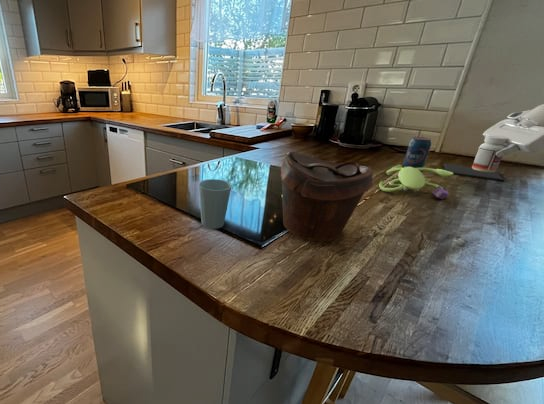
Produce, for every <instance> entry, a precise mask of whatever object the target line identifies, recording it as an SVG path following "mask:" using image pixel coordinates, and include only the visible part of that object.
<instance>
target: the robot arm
mask: <svg viewBox="0 0 544 404" xmlns="http://www.w3.org/2000/svg"><path fill="white" fill-rule="evenodd" d="M482 136H483V138H484V139H485V137H486V136H502V137H505V138H507V140H506V143H505V144H503V145H504V146H505V147H506V148H504V149H501V150H500V149H499V150H497V151H495V152H494V155H495V156H497V157H502V158H503V156H505V155H508V154H512V153H515V152H517V151H520V152H524V153H528V154H532V153H536V152H538V151H540V150H542V149H543V148H544V103H542V104H539V105H538V106H536V107H534V108H532V109H528V110H524V111H517V112H512V113H510V114H508V115H506V118H505V119H502V120H499V122H497V123H495V124H494V125H491V126H490V127H489V128H487V129H486V130H485V131H484V132H483V133H482ZM484 143H486V142H484ZM477 150H479V147H478V149H477Z"/></svg>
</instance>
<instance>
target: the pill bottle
mask: <svg viewBox="0 0 544 404" xmlns="http://www.w3.org/2000/svg"><path fill="white" fill-rule="evenodd" d="M506 140H507V138H505V137H502V136H486V137H485V138H484V140H483V141H484V142H483V143H482V144H480V146H478V148H479V149H477V153H476V155H475V157H474V160H473V163H472V166H471V167H472V168H473V169H474V170H477V171H482V172H495V171H496V172H497V170H498V169H499V166H500V163H501V161H502V158H503V156H502V157H497V156H495V155H494V152H495V151H497V150H499V149H500V150H501V149H504V148H507V147H506V146H504V145H503V144H505V143H506ZM485 142H486V143H485Z"/></svg>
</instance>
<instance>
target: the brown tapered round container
mask: <svg viewBox="0 0 544 404" xmlns="http://www.w3.org/2000/svg"><path fill="white" fill-rule="evenodd" d="M279 177H280V179H281V198H282V199H281V200H282V223H283V227H284V228H285V229H286V230H287V231H288V232H289V233H291V234H292V235H295V236H296V237H299V238H301V239H303V240H304V239H305V240H307V241H311V242H330V241H331V242H332V241H335V240H337V239H339V238H340V237H341V235H342V233H343V231H344V229H345V228H346V226H347V224H348V223H349V220H350V219H351V217H352V215H353V214H354V212H355V210H356V208H357V206H358V205H359V203H360V201H361V199H362V198H363V196H364V194H365V192H368V190H370V189H371V188H372V187H373V185H374V183H373V170H372V168H371V167H369V166H366V165H360V164H359V163H358V162H356V161H346V162H344V163H338V162H333V161H327V160H323V159H320V158H317V157H314V156H309V155H306V154H303V153H300V152H296V151H291V150H290V151H287V153H285V155H284V158H283V162H282V164H281V167H280V176H279Z"/></svg>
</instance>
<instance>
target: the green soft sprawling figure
mask: <svg viewBox="0 0 544 404" xmlns="http://www.w3.org/2000/svg"><path fill="white" fill-rule="evenodd" d="M394 172H398V175H397V176H398V178H395V179H392V180H391V181H389V182H388V183H389V185H390V186H392V187H393V186H394V187H393V188H392V187H384V180H381V181H380V182H379V183H378V187H379V189H380V190H381V191H382V192H387V193H394V192H395V193H396V192H399V191H402V190H403V191H405V192H406V191H408V190H410V191H413V192H415V193H418V192H419V191H420V189H422V188H423V187H424V186H427V187H432V188H435V190H433V191H432V192H431V193H432V194H433V195H434V196H435V197H436V199H437V198H438V199H442V200H444V199H445V198H447V197H448V196H449V195H450V194H449V191H448V190H447V188H443V187H442V186H440V185H438V184H437V183H432V182H428V181H426V178H425V175H424V174H423V173H422V172H429V173H434V174H437V175H438V176H439V177H441V178H450V177H452V176H453V175H455V174H454V173H453V172H449V171H446V170H445V169H441V168H430V167H422V168H413V167H403V165H402V164H396V165H394V166H393V167H391V168H390V169H388V170H386V175H388V176H389V175H391V174H392V173H394Z"/></svg>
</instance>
